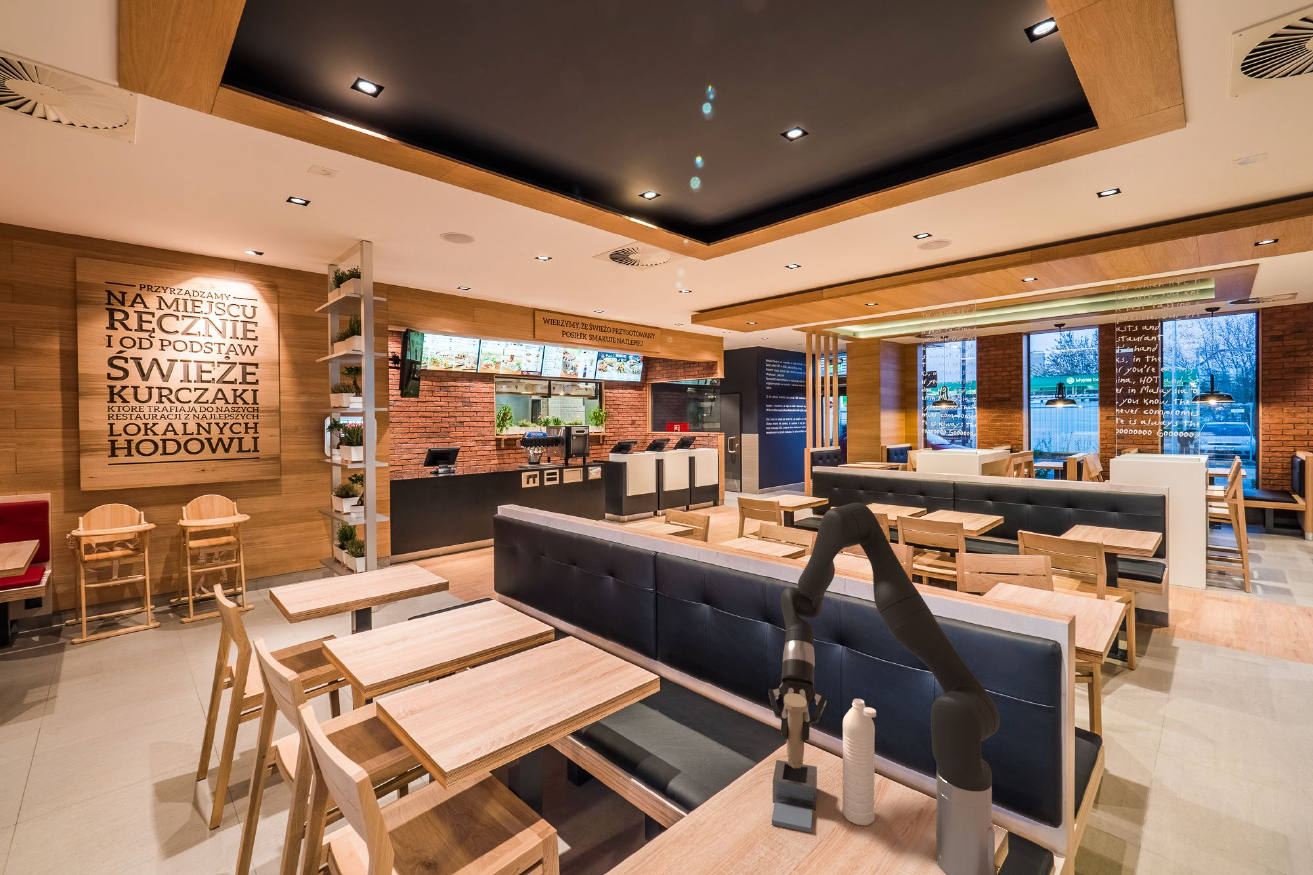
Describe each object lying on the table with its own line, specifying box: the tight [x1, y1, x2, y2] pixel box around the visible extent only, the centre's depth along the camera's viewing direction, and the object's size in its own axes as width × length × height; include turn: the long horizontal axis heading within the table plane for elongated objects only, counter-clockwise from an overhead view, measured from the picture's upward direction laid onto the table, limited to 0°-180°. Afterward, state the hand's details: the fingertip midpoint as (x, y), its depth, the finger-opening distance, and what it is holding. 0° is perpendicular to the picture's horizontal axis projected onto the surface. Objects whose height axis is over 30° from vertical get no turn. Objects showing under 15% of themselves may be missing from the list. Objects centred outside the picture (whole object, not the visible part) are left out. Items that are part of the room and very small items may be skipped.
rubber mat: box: [771, 802, 813, 834], centre depth 121 cm, size 8×6×1 cm
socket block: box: [772, 759, 818, 811], centre depth 129 cm, size 9×8×5 cm
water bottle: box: [841, 698, 877, 826], centre depth 121 cm, size 9×6×25 cm
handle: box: [783, 693, 807, 769], centre depth 129 cm, size 5×6×15 cm
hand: (794, 739), depth 127 cm, fingers closed on handle, 3 cm apart
